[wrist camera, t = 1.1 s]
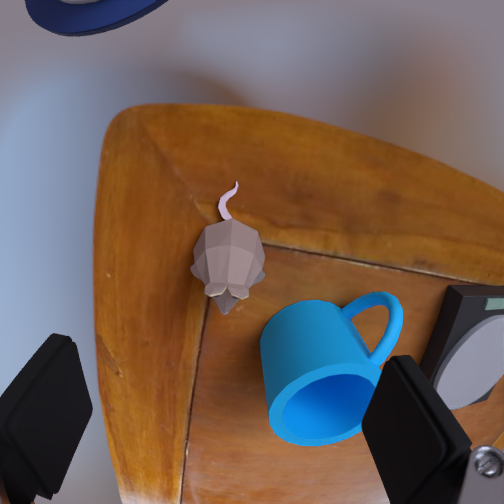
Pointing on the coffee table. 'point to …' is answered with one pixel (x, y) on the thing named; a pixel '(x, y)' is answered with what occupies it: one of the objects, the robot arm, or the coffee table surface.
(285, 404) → the mug
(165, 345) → the coffee table surface
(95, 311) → the coffee table surface
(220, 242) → the mouse figurine
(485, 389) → the kitchen scale
